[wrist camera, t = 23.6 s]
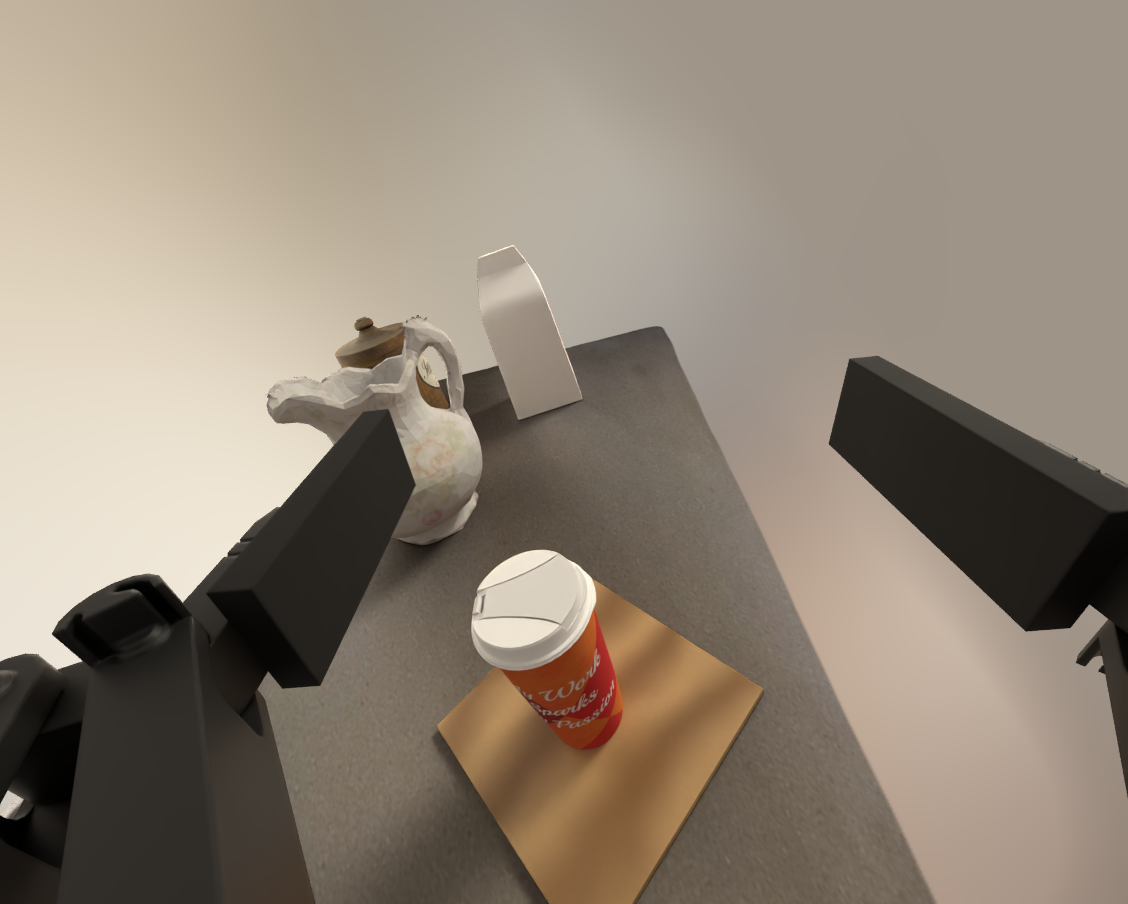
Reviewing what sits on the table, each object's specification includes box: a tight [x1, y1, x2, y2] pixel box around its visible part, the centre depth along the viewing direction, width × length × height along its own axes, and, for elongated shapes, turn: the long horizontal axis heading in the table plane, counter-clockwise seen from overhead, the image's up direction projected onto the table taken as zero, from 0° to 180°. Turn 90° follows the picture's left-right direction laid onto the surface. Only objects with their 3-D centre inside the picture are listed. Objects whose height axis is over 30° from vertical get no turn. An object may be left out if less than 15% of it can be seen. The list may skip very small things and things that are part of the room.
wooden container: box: [335, 317, 448, 409], centre depth 85 cm, size 15×15×22 cm
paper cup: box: [471, 550, 623, 750], centre depth 29 cm, size 8×8×14 cm
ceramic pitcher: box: [266, 315, 482, 545], centre depth 54 cm, size 22×20×25 cm
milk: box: [477, 245, 583, 420], centre depth 74 cm, size 12×12×26 cm
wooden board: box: [437, 579, 764, 904], centre depth 33 cm, size 18×18×1 cm
